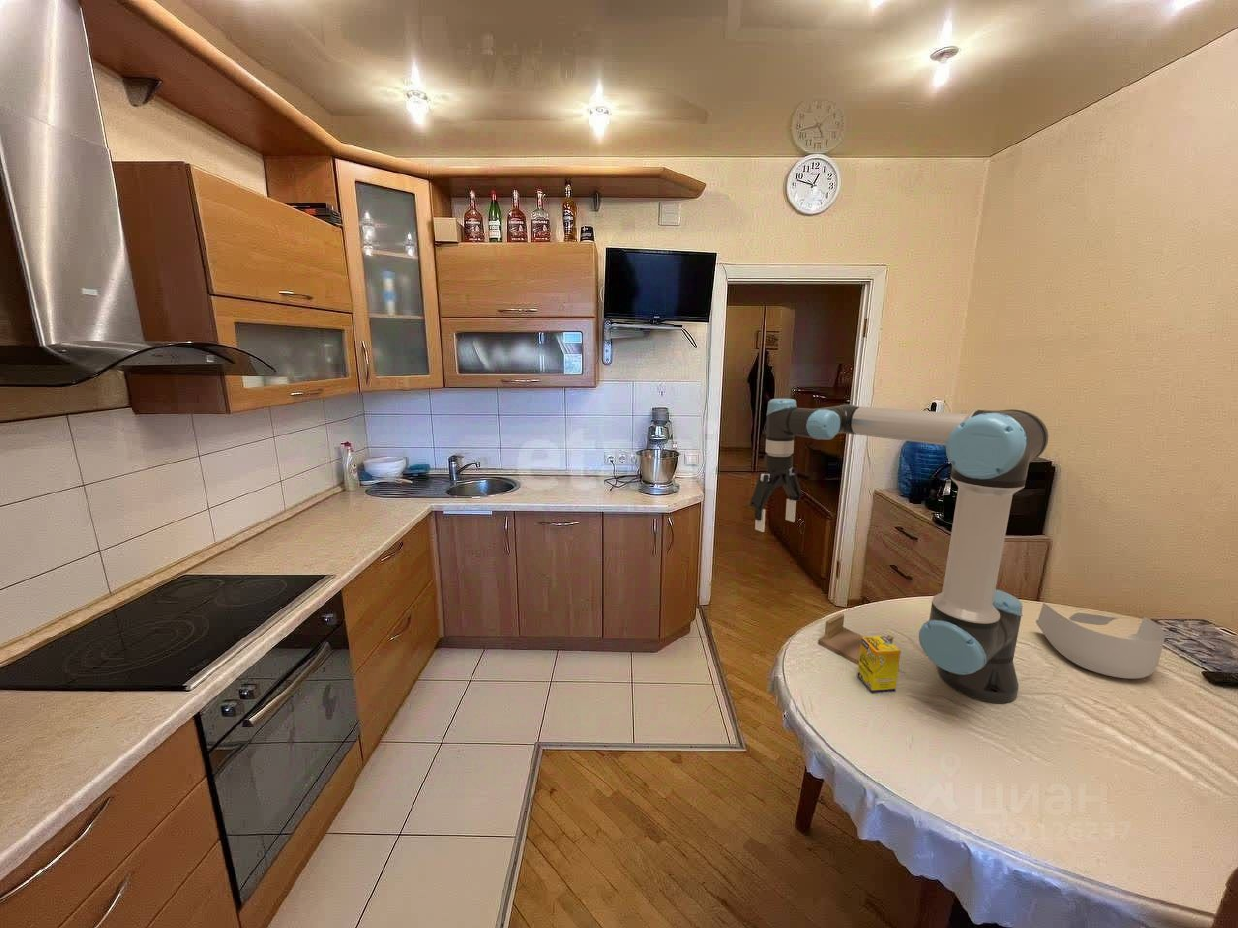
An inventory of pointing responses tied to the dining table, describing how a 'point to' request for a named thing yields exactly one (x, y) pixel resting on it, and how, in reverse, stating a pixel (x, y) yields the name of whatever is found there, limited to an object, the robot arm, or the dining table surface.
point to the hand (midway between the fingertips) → (775, 525)
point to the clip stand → (842, 639)
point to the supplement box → (878, 664)
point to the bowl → (1103, 644)
